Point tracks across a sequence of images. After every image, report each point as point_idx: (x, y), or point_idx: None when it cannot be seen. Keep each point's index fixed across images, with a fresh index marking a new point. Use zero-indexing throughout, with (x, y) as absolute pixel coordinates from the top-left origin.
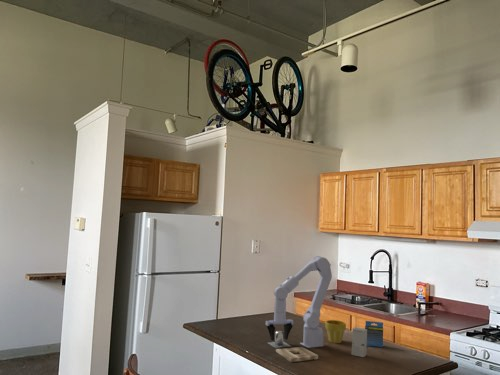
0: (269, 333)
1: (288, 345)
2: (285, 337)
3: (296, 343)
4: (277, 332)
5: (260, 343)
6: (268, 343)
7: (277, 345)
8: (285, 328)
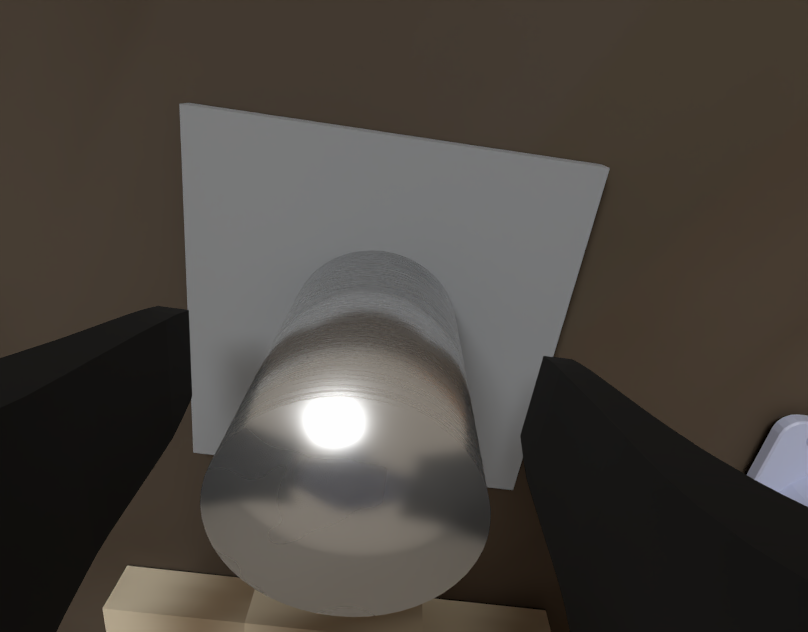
0: (16, 361)
1: (492, 446)
2: (539, 428)
3: (774, 350)
4: (238, 548)
5: (43, 11)
6: (188, 185)
7: None
8: (655, 607)
